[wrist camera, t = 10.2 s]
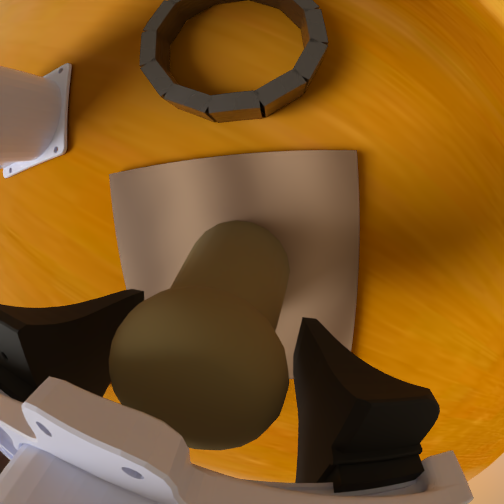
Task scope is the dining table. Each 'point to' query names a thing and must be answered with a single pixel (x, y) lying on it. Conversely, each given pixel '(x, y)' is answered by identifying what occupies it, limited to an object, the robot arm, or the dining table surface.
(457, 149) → the dining table surface
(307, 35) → the collar
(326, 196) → the walnut board
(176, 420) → the cork
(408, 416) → the robot arm
